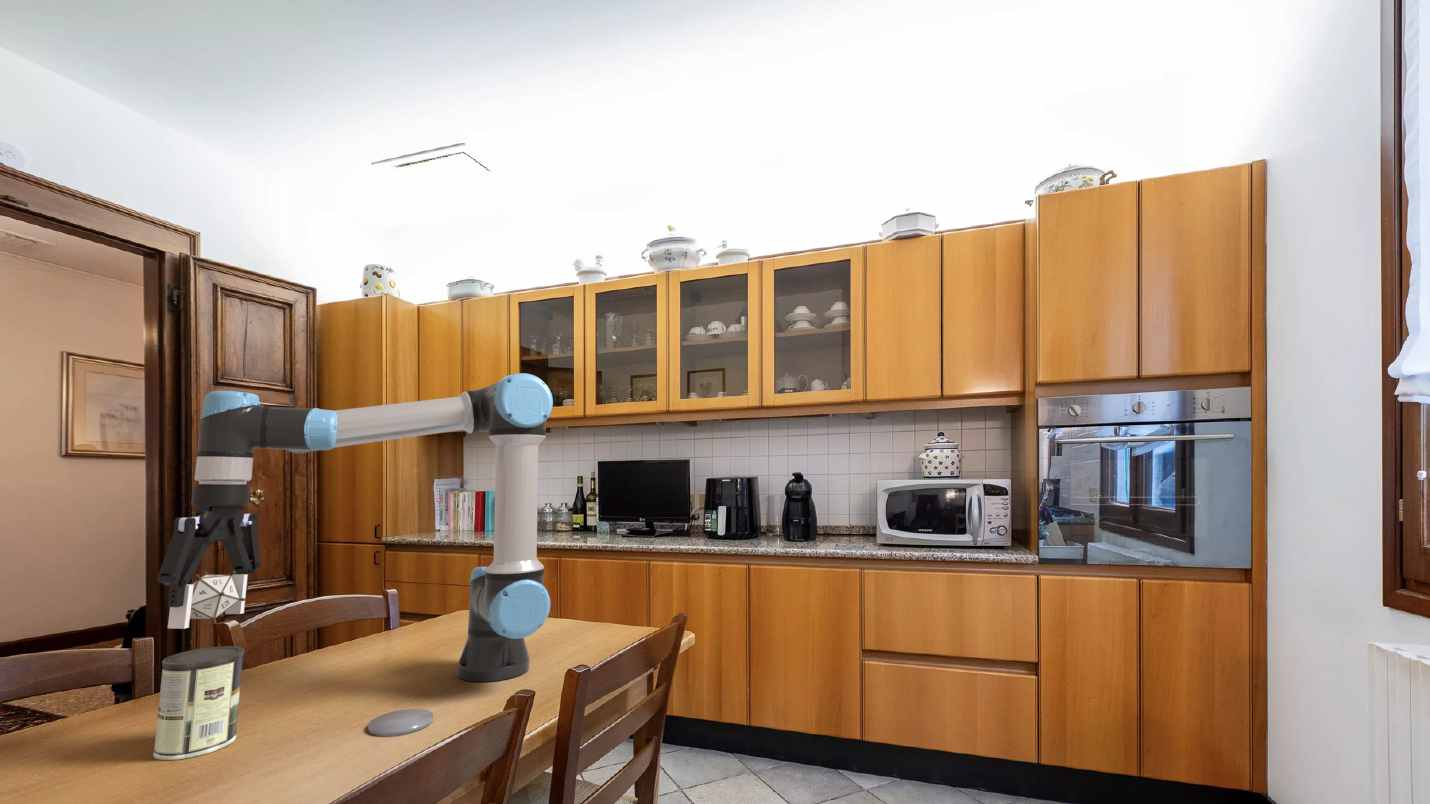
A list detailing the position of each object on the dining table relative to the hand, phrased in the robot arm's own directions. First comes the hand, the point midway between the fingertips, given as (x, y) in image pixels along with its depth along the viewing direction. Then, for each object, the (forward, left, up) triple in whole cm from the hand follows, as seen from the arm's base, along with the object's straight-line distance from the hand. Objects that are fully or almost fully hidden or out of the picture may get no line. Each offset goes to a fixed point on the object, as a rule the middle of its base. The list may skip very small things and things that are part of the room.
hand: (207, 620), depth 99 cm
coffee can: (0, 0, -20) cm, 20 cm away
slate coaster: (-28, -10, -19) cm, 36 cm away
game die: (0, 0, 0) cm, 0 cm away
